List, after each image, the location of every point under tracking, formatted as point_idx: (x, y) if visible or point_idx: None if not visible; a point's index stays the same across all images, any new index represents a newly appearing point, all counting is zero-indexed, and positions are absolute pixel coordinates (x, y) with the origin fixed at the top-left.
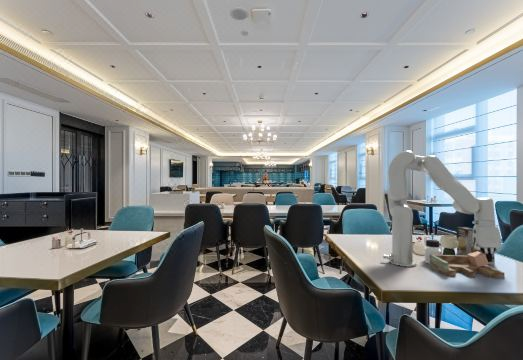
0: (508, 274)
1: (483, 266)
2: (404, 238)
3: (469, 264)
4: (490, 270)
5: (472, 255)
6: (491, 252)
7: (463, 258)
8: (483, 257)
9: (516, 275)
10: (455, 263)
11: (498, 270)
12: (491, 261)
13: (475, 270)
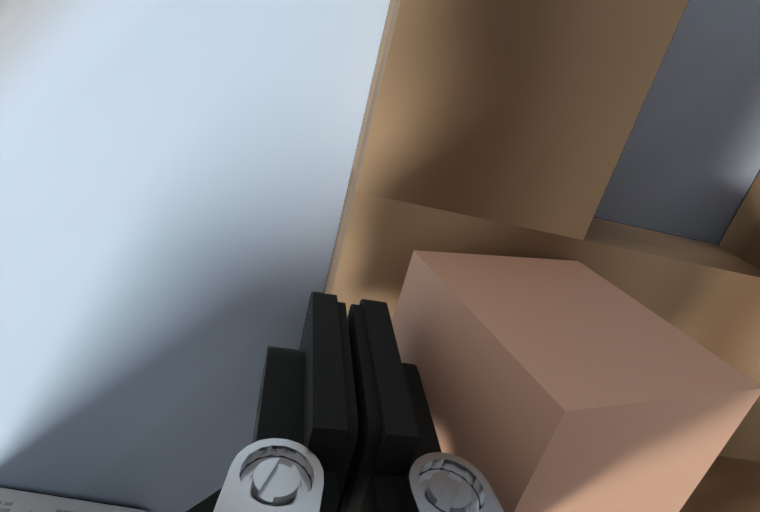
0: (136, 89)
1: None
2: None
3: None
4: (571, 55)
5: (689, 473)
6: (296, 474)
7: None
8: (568, 348)
9: (28, 22)
10: None
11: (406, 36)
12: (331, 294)
13: (610, 231)
